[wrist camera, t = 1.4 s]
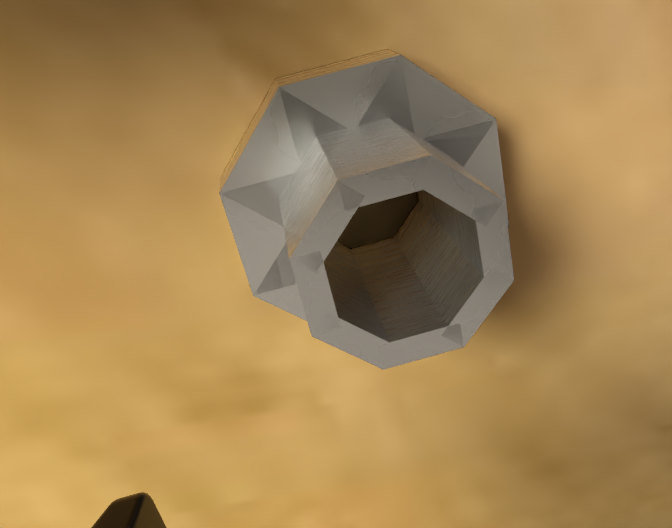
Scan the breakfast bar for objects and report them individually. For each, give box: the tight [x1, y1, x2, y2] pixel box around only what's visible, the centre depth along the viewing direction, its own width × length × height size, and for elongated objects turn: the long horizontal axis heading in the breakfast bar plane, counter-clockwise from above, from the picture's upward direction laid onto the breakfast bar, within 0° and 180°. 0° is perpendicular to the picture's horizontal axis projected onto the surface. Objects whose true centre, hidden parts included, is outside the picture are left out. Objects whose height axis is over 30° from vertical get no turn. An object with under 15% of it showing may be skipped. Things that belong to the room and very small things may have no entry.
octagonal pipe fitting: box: [219, 49, 514, 369], centre depth 14 cm, size 7×7×5 cm
